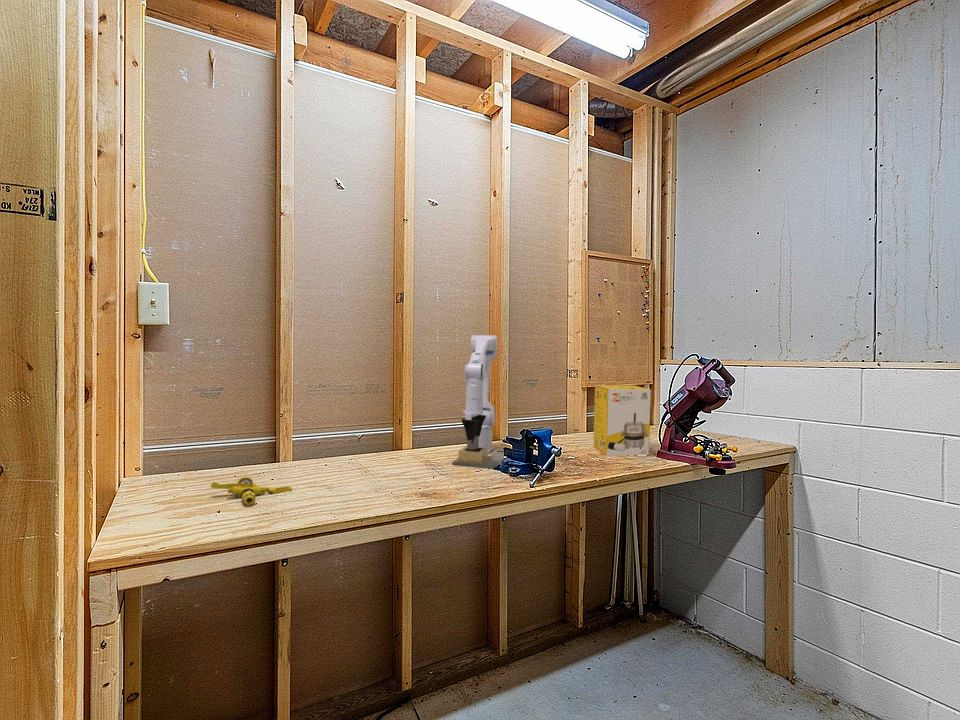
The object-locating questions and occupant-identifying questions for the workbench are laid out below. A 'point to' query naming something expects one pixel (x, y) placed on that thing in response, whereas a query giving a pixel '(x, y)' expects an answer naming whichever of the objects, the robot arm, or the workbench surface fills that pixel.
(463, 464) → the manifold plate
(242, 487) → the sprinkler
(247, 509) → the workbench surface
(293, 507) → the workbench surface
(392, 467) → the workbench surface
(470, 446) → the dark grey cylinder
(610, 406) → the packaging box
